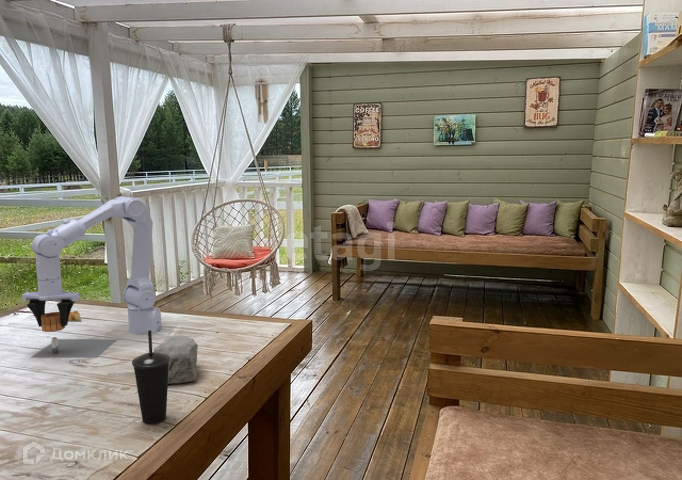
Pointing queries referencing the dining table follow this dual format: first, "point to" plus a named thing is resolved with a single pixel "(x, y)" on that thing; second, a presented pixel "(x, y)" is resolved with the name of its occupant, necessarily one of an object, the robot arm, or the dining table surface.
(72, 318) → the pastry
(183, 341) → the stone
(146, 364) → the drinking cup
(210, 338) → the dining table surface
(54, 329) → the bead
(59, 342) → the grey rectangular slab
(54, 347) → the metal post
